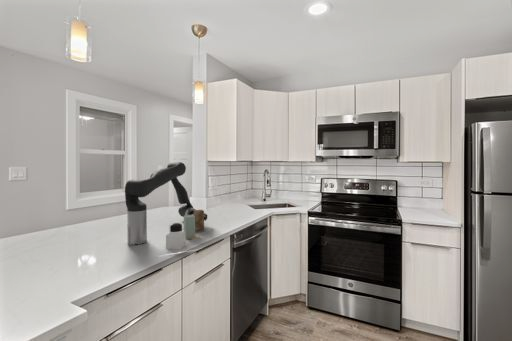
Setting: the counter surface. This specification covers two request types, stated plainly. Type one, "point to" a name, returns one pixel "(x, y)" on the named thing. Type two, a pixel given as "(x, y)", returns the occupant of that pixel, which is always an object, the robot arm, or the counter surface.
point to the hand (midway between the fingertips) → (199, 219)
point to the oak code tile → (193, 238)
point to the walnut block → (199, 220)
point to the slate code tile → (202, 231)
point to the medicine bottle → (175, 237)
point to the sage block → (189, 226)
